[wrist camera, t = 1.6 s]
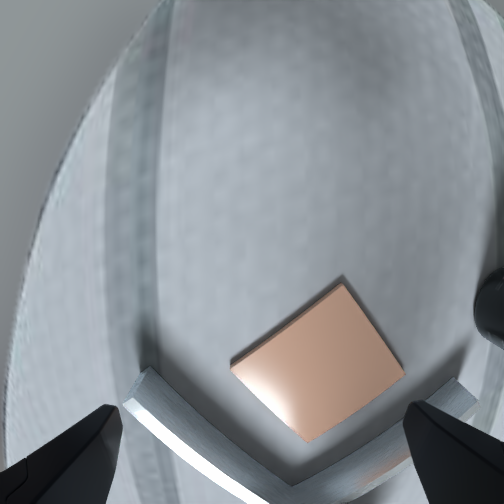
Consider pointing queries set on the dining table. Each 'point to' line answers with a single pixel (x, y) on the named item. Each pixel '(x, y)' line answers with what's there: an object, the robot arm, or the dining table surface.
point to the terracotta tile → (320, 366)
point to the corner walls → (257, 476)
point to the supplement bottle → (491, 309)
